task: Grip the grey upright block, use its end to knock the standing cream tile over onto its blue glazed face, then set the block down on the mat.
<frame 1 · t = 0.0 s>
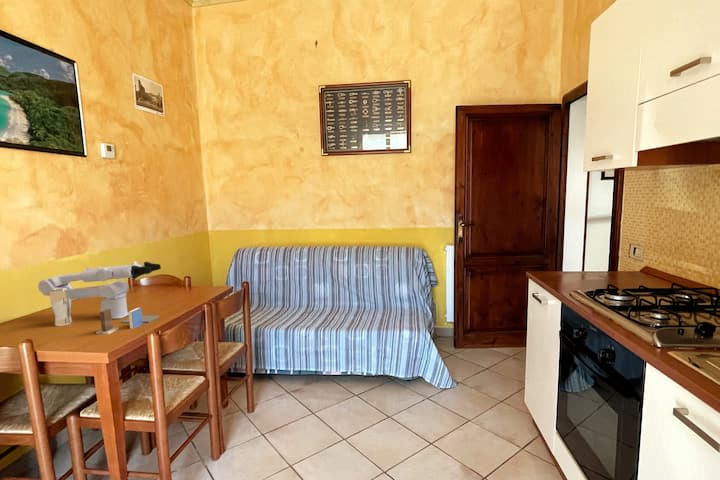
hand: (155, 268, 169), 22 cm above the table, tool horizontal, fingers open, 7 cm apart
tile: (136, 326, 157), on the table
grey upright block: (107, 331, 151), on the table
rest mat: (140, 319, 165), on the table
beer glass: (63, 324, 163), on the table
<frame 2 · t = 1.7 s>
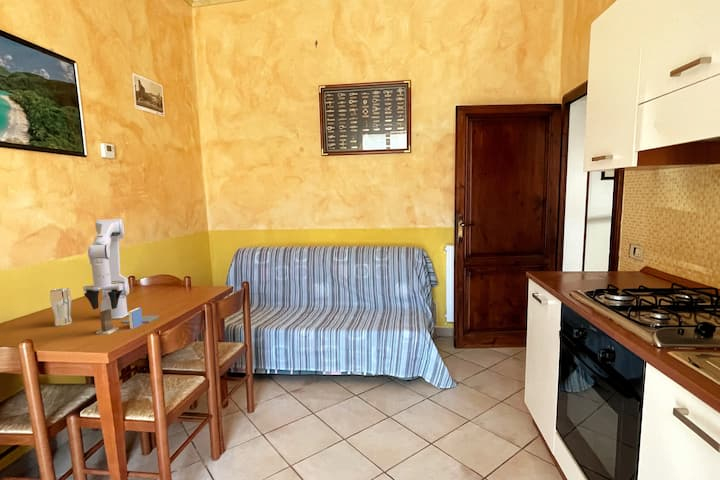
hand: (105, 308, 150), 9 cm above the table, tool pointing down, fingers open, 7 cm apart
nothing on the table moved.
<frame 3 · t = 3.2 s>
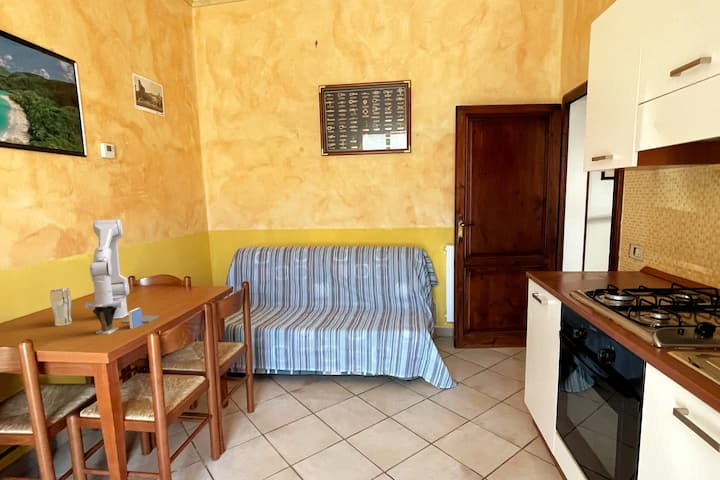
hand: (106, 324, 151), 3 cm above the table, tool pointing down, fingers closed on grey upright block
grey upright block: (107, 331, 151), on the table, touching gripper
everything else where it was.
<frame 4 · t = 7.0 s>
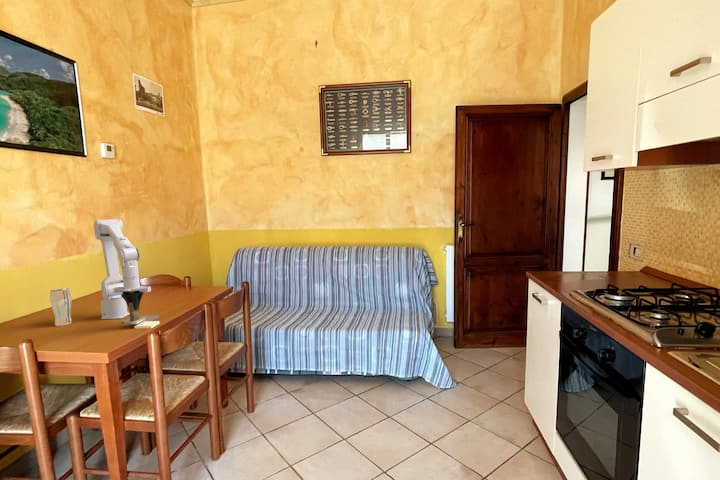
hand: (134, 309, 156), 7 cm above the table, tool pointing down, fingers closed on grey upright block
tile: (138, 325, 157), on the table, tilted 90°
grey upright block: (135, 321, 157), point 2 cm above the table, touching gripper
everything else where it was.
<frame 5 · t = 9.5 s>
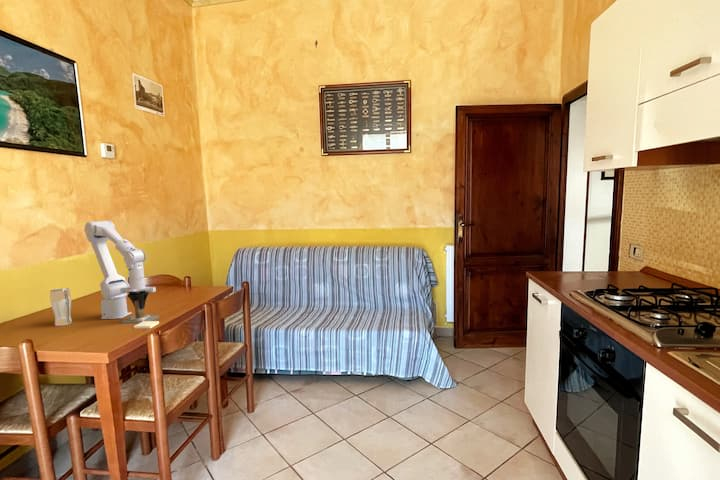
hand: (139, 308, 165), 5 cm above the table, tool pointing down, fingers closed on grey upright block
grey upright block: (140, 318, 165), point 1 cm above the table, touching gripper, rest mat
everything else where it was.
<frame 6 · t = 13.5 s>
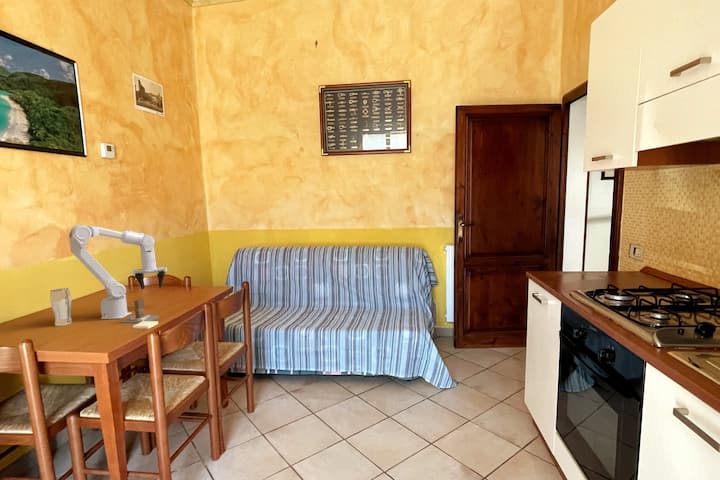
hand: (151, 287, 180), 10 cm above the table, tool pointing down, fingers open, 7 cm apart
grey upright block: (140, 318, 165), point 1 cm above the table, touching rest mat
at the end: tile tilted 90°; grey upright block inside the target area (0.2 cm from its centre), point 0.6 cm above the table; the gripper is holding nothing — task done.
